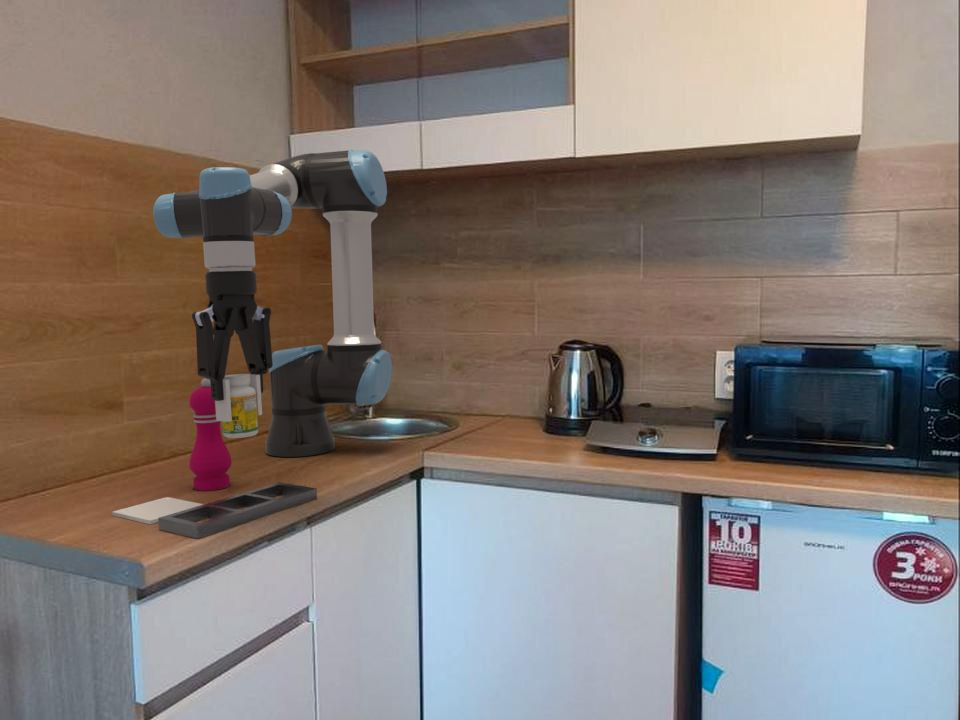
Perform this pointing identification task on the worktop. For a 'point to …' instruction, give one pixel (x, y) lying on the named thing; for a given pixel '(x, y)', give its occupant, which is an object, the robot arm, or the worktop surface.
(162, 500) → the white mat
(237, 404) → the supplement bottle
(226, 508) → the rack frame
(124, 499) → the worktop surface
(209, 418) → the pepper mill
